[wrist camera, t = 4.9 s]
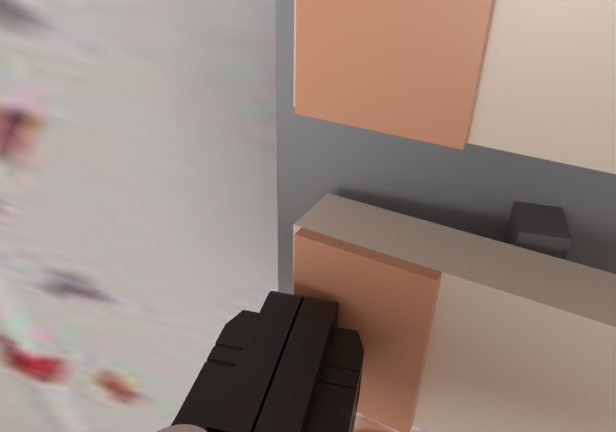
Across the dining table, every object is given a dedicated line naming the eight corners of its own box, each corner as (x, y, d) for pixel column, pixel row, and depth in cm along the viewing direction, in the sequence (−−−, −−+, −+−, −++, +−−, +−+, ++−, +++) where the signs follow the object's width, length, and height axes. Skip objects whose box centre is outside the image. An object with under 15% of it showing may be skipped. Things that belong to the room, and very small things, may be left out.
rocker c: (894, 352, 8) (946, 446, 7) (763, 510, 11) (781, 605, 9) (327, 193, 12) (286, 231, 11) (321, 332, 15) (285, 379, 13)
